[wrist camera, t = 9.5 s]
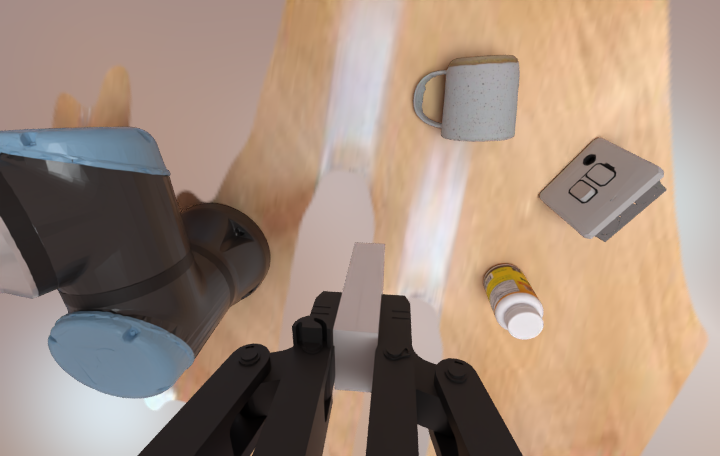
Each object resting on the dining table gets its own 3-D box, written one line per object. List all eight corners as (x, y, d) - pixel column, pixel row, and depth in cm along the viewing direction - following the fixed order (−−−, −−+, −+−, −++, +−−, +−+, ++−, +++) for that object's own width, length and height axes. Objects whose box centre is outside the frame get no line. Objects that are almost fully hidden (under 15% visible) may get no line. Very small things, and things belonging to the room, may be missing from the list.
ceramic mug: (511, 54, 40) (533, 52, 33) (504, 130, 43) (522, 143, 36) (413, 61, 41) (414, 60, 34) (413, 135, 44) (414, 148, 37)
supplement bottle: (528, 288, 51) (557, 337, 42) (489, 300, 53) (508, 350, 43) (516, 256, 49) (543, 300, 40) (476, 270, 51) (494, 315, 41)
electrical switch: (596, 134, 42) (652, 157, 34) (625, 159, 43) (685, 187, 35) (535, 195, 46) (572, 229, 37) (563, 216, 47) (604, 254, 39)
